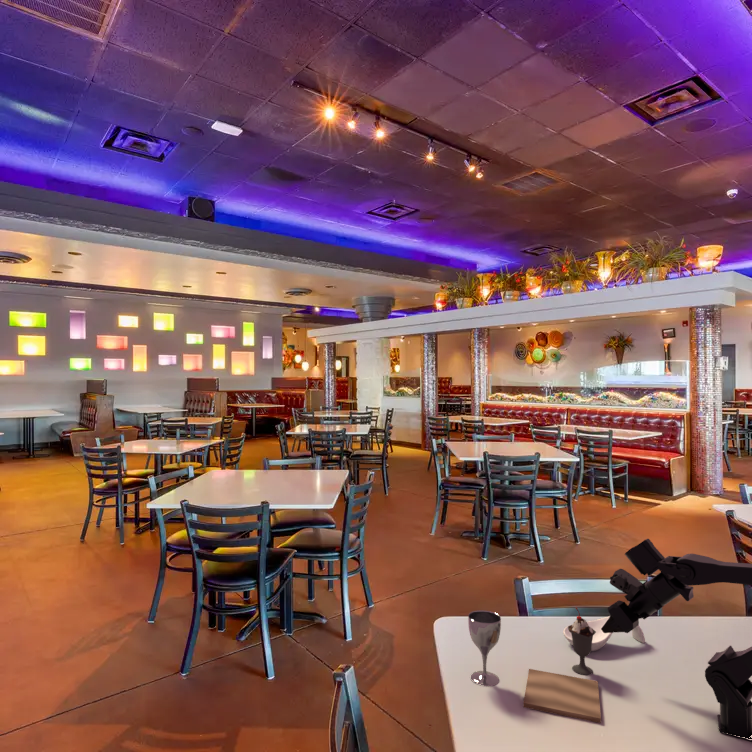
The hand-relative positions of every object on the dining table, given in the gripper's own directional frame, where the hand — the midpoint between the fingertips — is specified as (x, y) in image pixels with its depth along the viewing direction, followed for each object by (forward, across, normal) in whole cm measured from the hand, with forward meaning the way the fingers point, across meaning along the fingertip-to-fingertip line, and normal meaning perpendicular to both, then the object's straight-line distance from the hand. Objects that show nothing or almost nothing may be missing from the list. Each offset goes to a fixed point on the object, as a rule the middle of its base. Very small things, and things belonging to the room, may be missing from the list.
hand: (610, 625), depth 129 cm
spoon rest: (+17, -19, +3) cm, 26 cm away
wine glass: (+25, +22, -6) cm, 34 cm away
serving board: (+13, +15, +6) cm, 21 cm away
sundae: (+15, 0, +4) cm, 15 cm away
